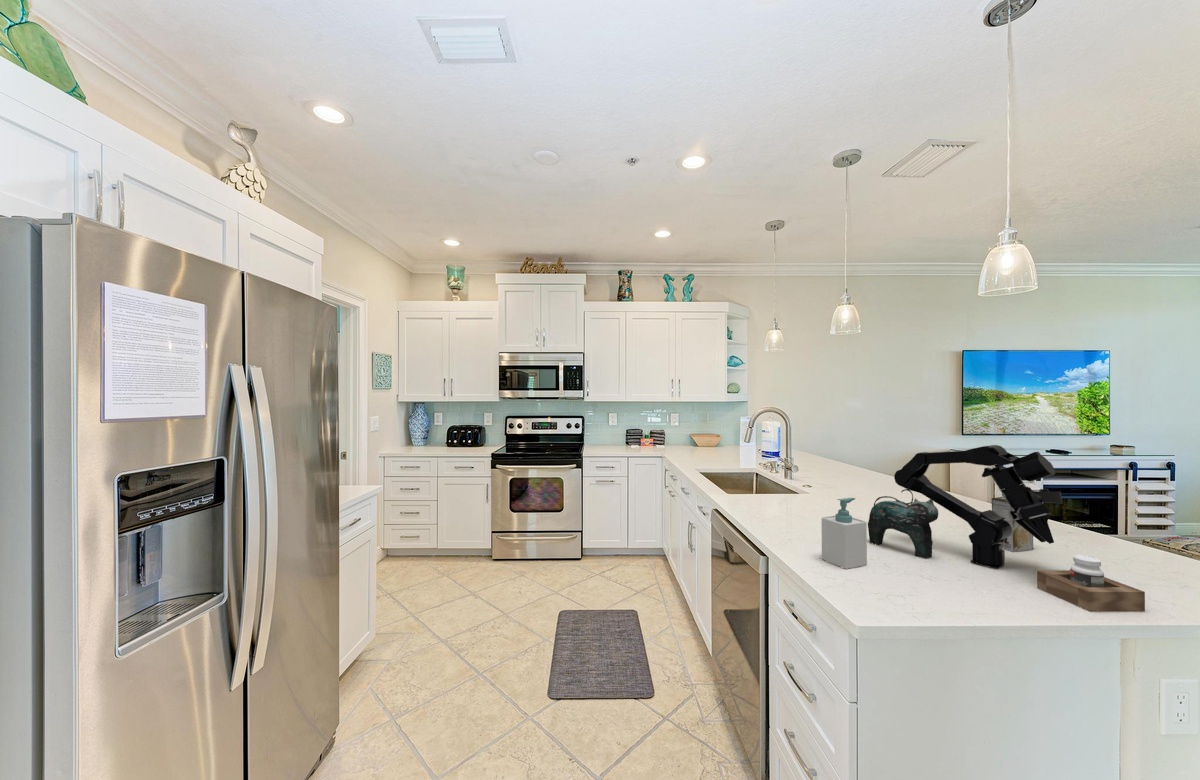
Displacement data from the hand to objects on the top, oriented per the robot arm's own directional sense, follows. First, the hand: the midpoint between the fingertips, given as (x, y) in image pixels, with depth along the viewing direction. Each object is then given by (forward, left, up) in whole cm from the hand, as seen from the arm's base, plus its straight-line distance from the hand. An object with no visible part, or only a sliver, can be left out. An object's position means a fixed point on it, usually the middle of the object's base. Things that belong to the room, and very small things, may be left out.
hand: (1047, 542), depth 124 cm
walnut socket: (+9, -8, -10) cm, 15 cm away
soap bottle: (-38, -32, -10) cm, 51 cm away
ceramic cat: (-33, -7, -10) cm, 36 cm away
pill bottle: (+8, -8, -10) cm, 15 cm away
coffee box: (-13, +25, -10) cm, 30 cm away
